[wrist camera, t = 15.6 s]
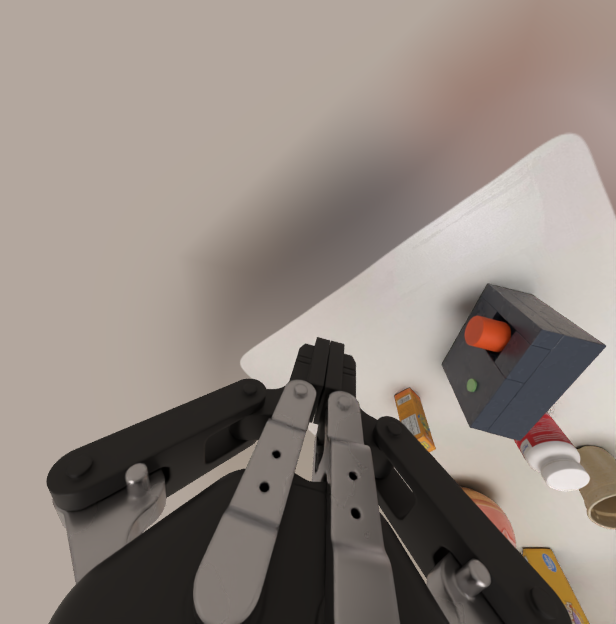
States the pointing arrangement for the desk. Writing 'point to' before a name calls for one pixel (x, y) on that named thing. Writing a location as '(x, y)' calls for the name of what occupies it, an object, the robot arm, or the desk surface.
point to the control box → (517, 363)
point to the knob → (487, 333)
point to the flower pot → (599, 485)
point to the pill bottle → (553, 456)
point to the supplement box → (414, 417)
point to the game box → (556, 581)
